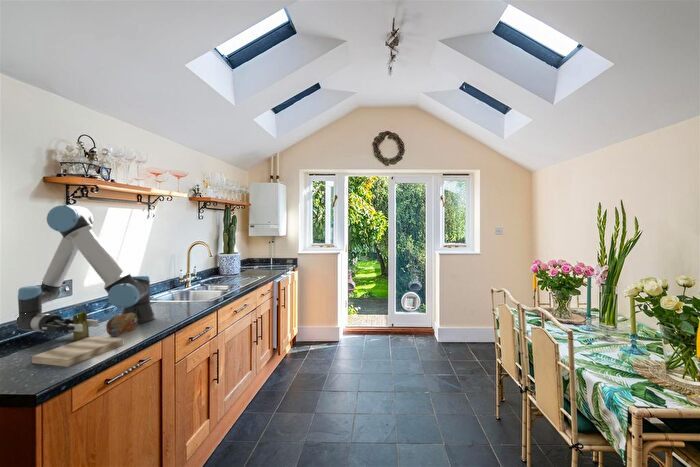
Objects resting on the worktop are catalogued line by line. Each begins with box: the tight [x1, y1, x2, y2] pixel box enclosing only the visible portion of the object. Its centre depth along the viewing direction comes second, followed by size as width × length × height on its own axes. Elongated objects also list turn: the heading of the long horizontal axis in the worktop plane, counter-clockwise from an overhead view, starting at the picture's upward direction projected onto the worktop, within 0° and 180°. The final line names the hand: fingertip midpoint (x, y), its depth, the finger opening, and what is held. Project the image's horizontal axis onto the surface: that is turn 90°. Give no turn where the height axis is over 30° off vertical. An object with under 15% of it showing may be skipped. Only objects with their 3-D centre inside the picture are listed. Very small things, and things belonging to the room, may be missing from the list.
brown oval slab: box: [106, 312, 139, 337], centre depth 154 cm, size 15×3×8 cm, turn 168°
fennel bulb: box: [72, 311, 90, 342], centre depth 144 cm, size 6×5×12 cm
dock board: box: [31, 335, 124, 367], centre depth 129 cm, size 22×16×2 cm
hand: (89, 325), depth 143 cm, fingers closed on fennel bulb, 6 cm apart
